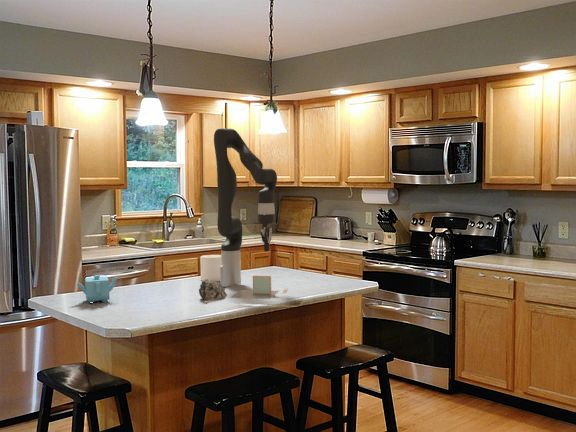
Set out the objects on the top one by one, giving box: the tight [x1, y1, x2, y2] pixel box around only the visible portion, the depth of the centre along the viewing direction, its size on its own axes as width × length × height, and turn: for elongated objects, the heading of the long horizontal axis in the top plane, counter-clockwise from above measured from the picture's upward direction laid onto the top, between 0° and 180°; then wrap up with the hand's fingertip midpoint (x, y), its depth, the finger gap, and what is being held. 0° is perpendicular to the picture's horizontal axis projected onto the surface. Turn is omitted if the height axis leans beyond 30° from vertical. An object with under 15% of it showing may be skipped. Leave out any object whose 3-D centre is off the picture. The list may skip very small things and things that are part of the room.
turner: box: [281, 288, 289, 294], centre depth 285 cm, size 16×4×1 cm, turn 173°
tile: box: [252, 274, 272, 294], centre depth 282 cm, size 8×2×8 cm, turn 78°
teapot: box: [76, 274, 120, 303], centre depth 275 cm, size 16×18×11 cm
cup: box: [199, 254, 222, 282], centre depth 327 cm, size 12×12×12 cm
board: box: [229, 289, 280, 300], centre depth 282 cm, size 18×18×1 cm
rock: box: [198, 279, 228, 301], centre depth 276 cm, size 13×10×10 cm
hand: (266, 251), depth 291 cm, fingers closed
